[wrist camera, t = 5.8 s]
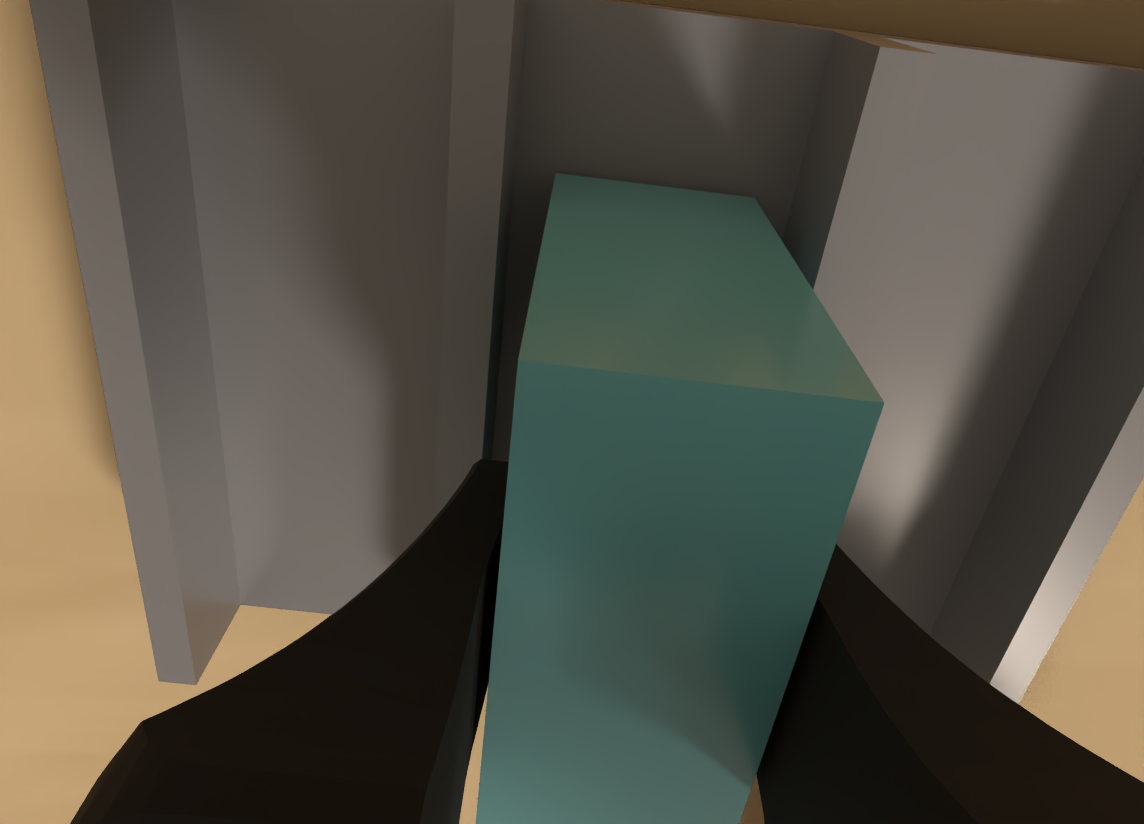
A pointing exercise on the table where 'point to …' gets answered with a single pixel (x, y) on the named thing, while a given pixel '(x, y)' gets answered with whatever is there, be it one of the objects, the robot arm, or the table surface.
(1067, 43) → the table surface
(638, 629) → the tall teal block
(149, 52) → the rack
